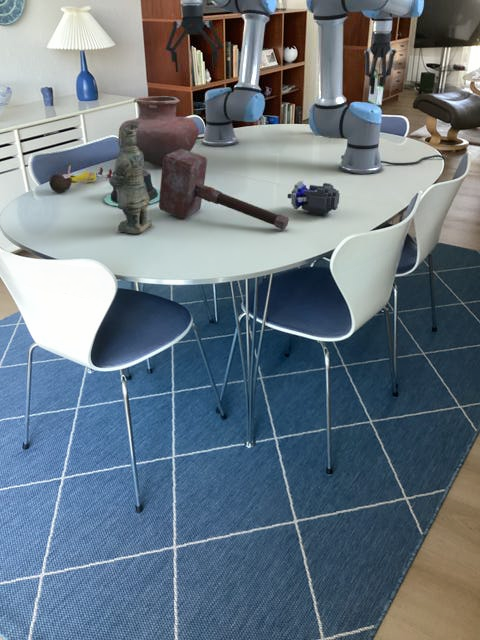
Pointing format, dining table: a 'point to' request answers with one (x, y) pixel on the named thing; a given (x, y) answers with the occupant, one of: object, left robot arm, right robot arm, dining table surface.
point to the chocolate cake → (152, 192)
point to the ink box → (376, 92)
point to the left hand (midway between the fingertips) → (195, 71)
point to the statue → (131, 182)
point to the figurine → (74, 179)
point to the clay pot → (162, 128)
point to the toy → (315, 198)
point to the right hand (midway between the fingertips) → (376, 93)
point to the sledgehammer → (200, 190)
